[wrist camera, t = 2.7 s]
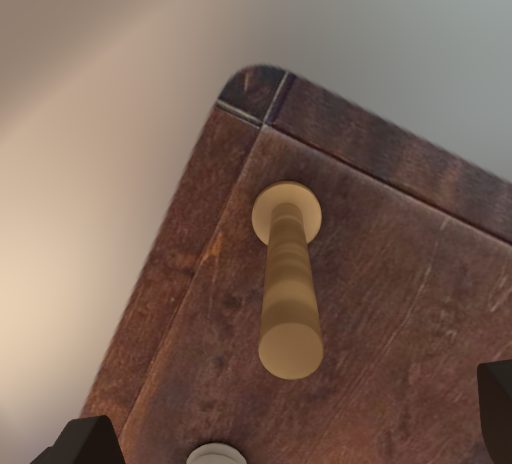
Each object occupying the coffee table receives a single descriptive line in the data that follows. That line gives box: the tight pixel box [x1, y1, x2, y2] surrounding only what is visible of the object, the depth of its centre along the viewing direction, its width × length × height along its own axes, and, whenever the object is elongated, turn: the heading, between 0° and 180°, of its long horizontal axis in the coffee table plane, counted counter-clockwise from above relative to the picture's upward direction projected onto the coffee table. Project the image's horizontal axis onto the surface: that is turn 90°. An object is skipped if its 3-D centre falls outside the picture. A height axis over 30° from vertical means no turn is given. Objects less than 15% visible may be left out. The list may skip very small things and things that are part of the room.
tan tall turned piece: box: [252, 181, 324, 379], centre depth 20 cm, size 4×4×15 cm
